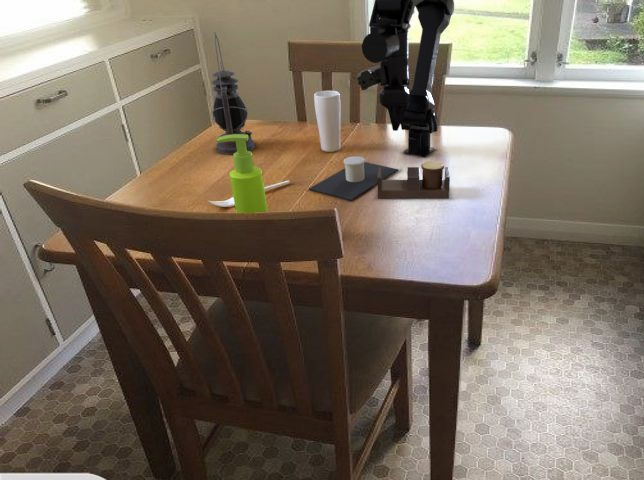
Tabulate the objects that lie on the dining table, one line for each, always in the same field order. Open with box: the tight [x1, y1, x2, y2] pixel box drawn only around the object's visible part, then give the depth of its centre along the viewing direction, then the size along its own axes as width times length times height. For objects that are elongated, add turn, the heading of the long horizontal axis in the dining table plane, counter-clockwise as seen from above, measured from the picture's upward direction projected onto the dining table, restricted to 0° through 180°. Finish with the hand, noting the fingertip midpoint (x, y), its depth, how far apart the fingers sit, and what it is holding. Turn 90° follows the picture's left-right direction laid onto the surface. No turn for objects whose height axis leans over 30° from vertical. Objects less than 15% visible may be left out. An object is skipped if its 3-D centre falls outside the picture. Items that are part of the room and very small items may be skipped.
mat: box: [308, 161, 399, 202], centre depth 127 cm, size 20×12×1 cm, turn 147°
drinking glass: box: [313, 90, 342, 153], centre depth 141 cm, size 7×7×15 cm
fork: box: [208, 180, 291, 208], centre depth 120 cm, size 3×20×2 cm, turn 131°
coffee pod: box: [343, 155, 366, 182], centre depth 125 cm, size 5×5×5 cm
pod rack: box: [376, 166, 451, 200], centre depth 119 cm, size 6×16×5 cm, turn 87°
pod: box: [420, 160, 445, 189], centre depth 117 cm, size 5×5×5 cm
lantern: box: [210, 32, 256, 156], centre depth 140 cm, size 12×11×30 cm
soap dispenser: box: [216, 134, 269, 213], centre depth 100 cm, size 6×7×20 cm
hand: (395, 124), depth 124 cm, fingers open, 9 cm apart
